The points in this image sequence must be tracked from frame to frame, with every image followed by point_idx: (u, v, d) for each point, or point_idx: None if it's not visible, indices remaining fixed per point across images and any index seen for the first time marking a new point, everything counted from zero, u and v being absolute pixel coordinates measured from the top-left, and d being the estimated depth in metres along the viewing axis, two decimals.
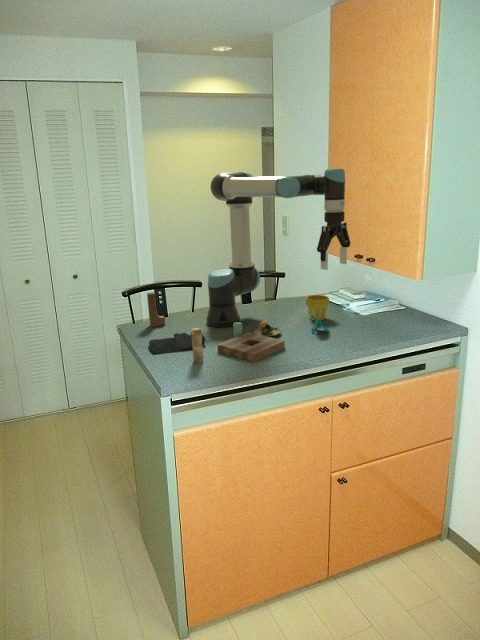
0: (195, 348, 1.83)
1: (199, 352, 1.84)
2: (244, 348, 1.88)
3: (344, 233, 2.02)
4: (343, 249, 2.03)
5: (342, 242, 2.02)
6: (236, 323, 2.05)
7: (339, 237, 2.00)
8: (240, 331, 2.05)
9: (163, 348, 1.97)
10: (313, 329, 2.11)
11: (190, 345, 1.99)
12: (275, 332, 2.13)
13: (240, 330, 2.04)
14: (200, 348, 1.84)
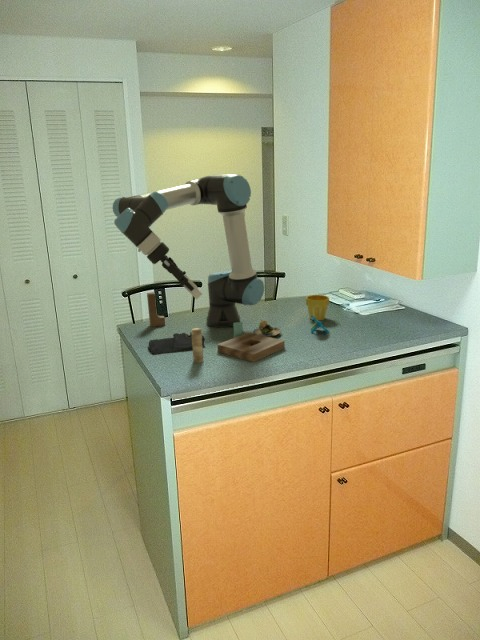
0: (195, 348, 1.83)
1: (199, 352, 1.84)
2: (244, 348, 1.88)
3: None
4: None
5: None
6: (236, 323, 2.05)
7: None
8: (240, 331, 2.05)
9: (162, 348, 1.97)
10: (312, 329, 2.11)
11: (190, 345, 1.99)
12: (275, 332, 2.13)
13: (240, 330, 2.04)
14: (200, 348, 1.84)
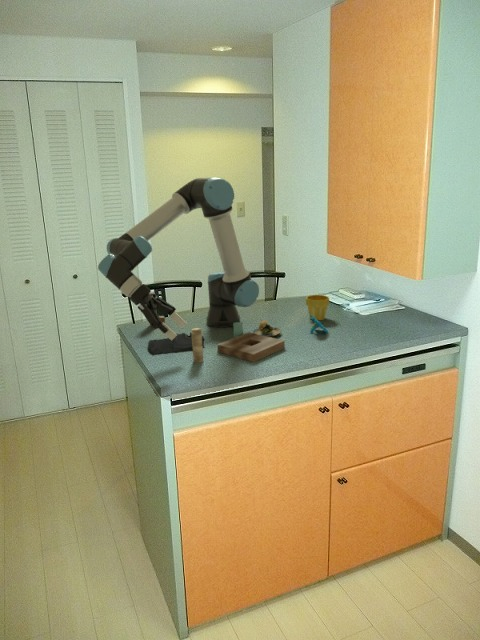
0: (195, 348, 1.83)
1: (199, 352, 1.84)
2: (244, 348, 1.88)
3: None
4: None
5: None
6: (236, 323, 2.05)
7: None
8: (240, 331, 2.05)
9: (162, 348, 1.97)
10: (312, 329, 2.11)
11: (189, 345, 1.98)
12: (275, 332, 2.13)
13: (240, 330, 2.04)
14: (200, 348, 1.84)
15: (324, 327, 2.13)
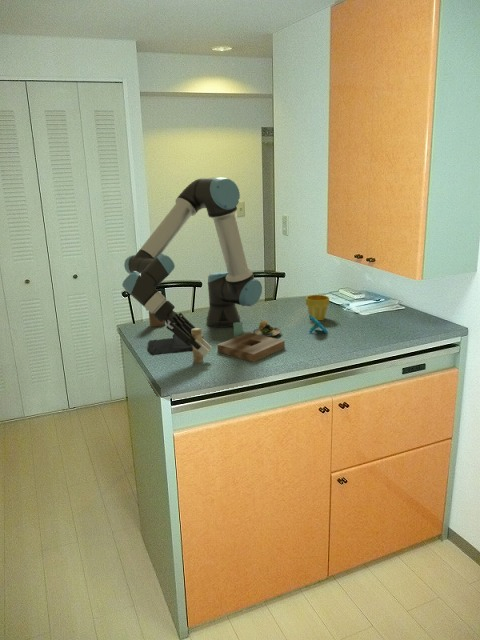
0: None
1: (199, 352, 1.84)
2: (244, 348, 1.88)
3: None
4: None
5: None
6: (236, 323, 2.05)
7: None
8: (240, 331, 2.05)
9: (161, 348, 1.97)
10: (311, 329, 2.12)
11: (189, 346, 1.98)
12: (275, 332, 2.13)
13: (240, 330, 2.04)
14: None
15: None
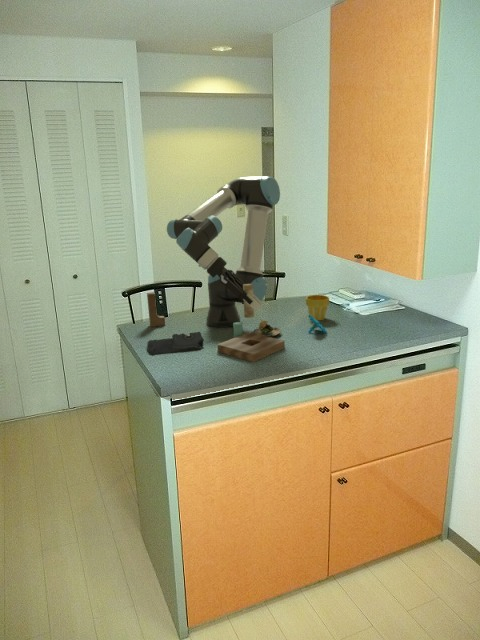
0: None
1: (250, 307, 1.88)
2: (244, 348, 1.88)
3: None
4: None
5: None
6: (236, 323, 2.05)
7: None
8: (240, 331, 2.05)
9: (161, 348, 1.97)
10: (310, 329, 2.12)
11: (188, 346, 1.98)
12: (275, 332, 2.13)
13: (240, 330, 2.04)
14: None
15: (323, 327, 2.13)
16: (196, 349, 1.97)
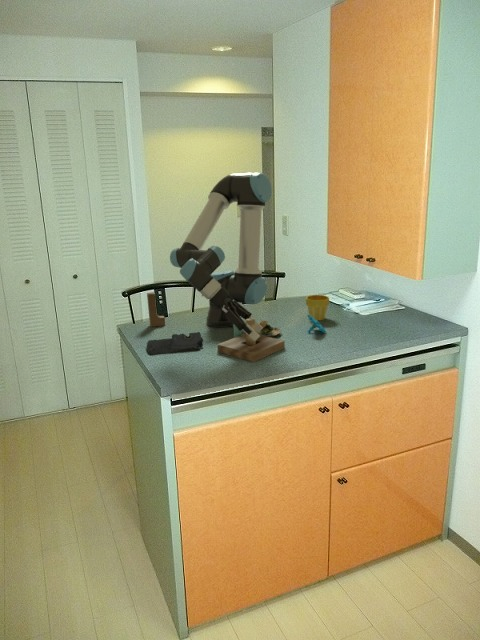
0: (249, 338, 1.92)
1: (252, 342, 1.92)
2: (244, 348, 1.88)
3: None
4: None
5: None
6: None
7: None
8: (240, 331, 2.05)
9: (160, 348, 1.97)
10: (309, 329, 2.12)
11: (187, 346, 1.97)
12: (275, 332, 2.13)
13: None
14: None
15: (322, 327, 2.13)
16: (195, 349, 1.97)
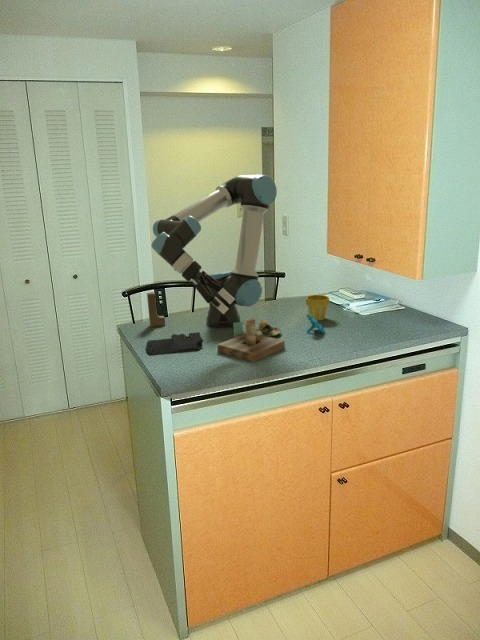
0: (249, 338, 1.92)
1: (252, 342, 1.92)
2: (244, 348, 1.88)
3: None
4: None
5: None
6: (236, 323, 2.05)
7: None
8: (240, 331, 2.05)
9: (159, 349, 1.96)
10: (309, 328, 2.12)
11: (187, 347, 1.97)
12: (275, 332, 2.13)
13: (240, 330, 2.04)
14: (253, 337, 1.92)
15: None
16: (195, 350, 1.97)
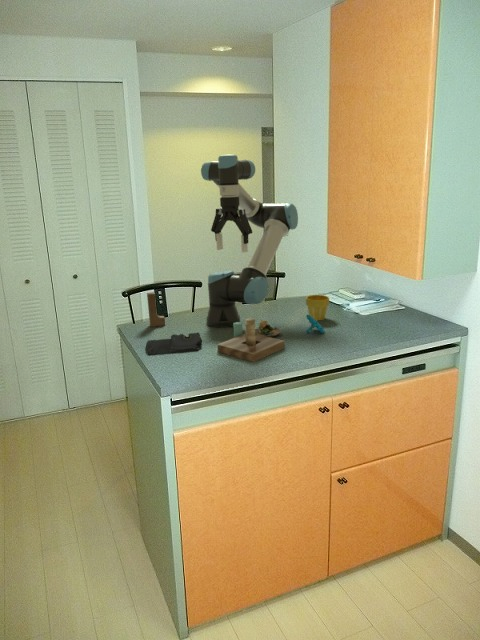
0: (249, 338, 1.92)
1: (252, 342, 1.92)
2: (244, 348, 1.88)
3: None
4: None
5: None
6: (236, 323, 2.05)
7: None
8: (240, 331, 2.05)
9: (158, 349, 1.96)
10: None
11: (186, 347, 1.97)
12: (275, 332, 2.13)
13: (240, 330, 2.04)
14: (253, 338, 1.92)
15: (321, 327, 2.13)
16: (194, 350, 1.96)
